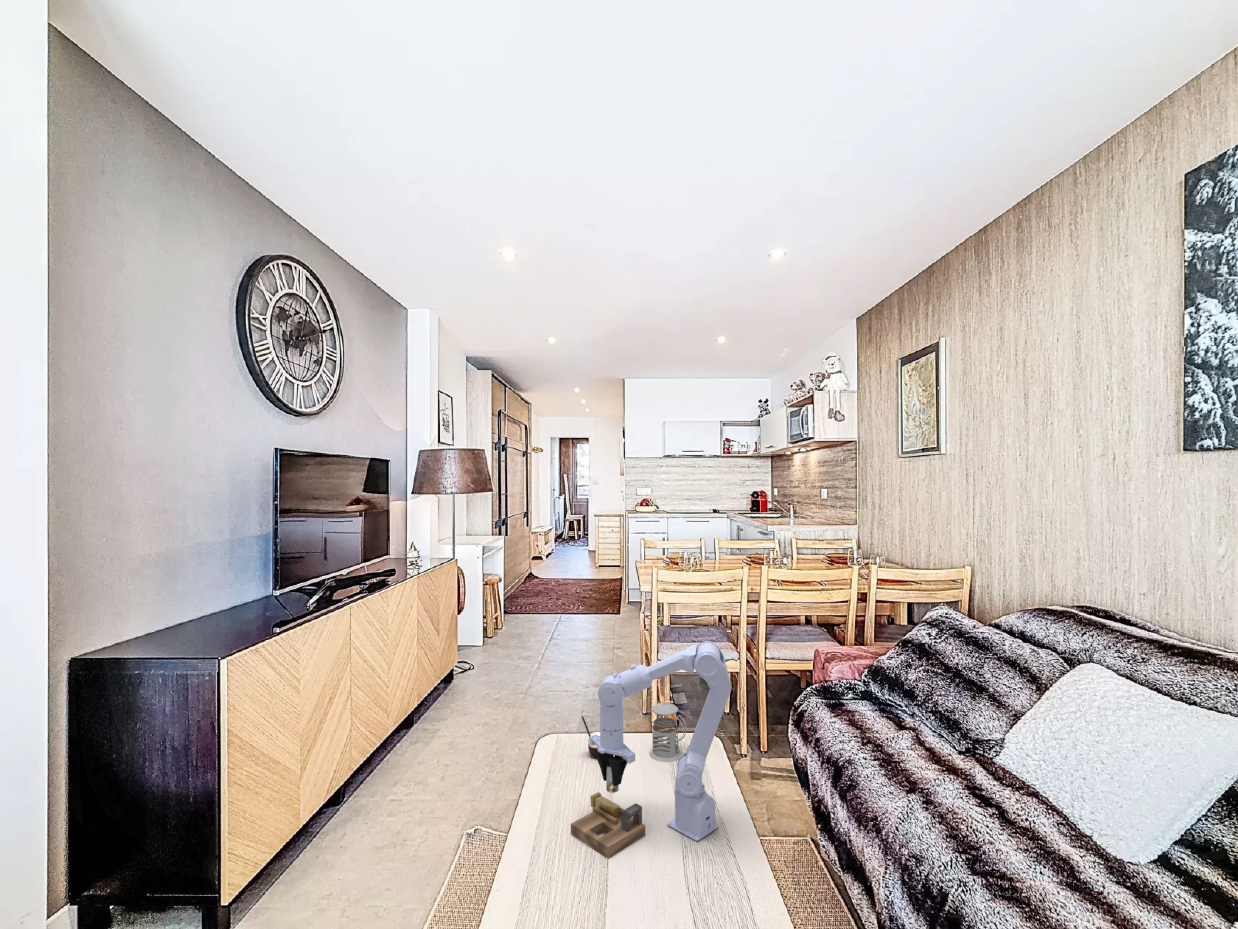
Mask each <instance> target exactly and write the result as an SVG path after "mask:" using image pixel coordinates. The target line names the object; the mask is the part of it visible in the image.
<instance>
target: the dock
mask: <svg viewBox="0 0 1238 929" xmlns="http://www.w3.org/2000/svg"><path fill="white" fill-rule="evenodd" d="M601 834H603V836H600V835H601ZM570 835H572V836H574V837H575V838H577V839H578V841H581V842H582V843H584V844H585V845H587V846H588V847H590V848H592V849H593V850H595V851H596V852H598V853H599V854H601V855H603V857H606V858H607V859H609V858H611V857H613V856H615V855H616V854H618V853H620V852H621V851H623V850H625V849H626V848H627V847H629V846H630V845H632V844H634V843H636V842H638V841H639V840H641V839H642V838H644V837H645V836H646V824H644V823H643V806H642V805H640V804H638V803H633V804H632V805H630V806H628V807H627V808H625V809H624V808H622V807H620V816H618V817H616V818H615V817H613V816H611V815H609V814H608V813H606V812H604V811H602V810H601V809H599V808H597V807H594V808H593V807H592V812H590V813H587V814H586V815H584V816H583V817H581V818H578V819H576V820H574V821H573V822H571V823H570Z"/></svg>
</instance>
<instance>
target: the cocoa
mask: <svg viewBox="0 0 1238 929" xmlns="http://www.w3.org/2000/svg"><path fill="white" fill-rule="evenodd" d="M581 719H582V722H583V725H584V727H585V729H586V732H587V735H588V739H587V743H588V744H587V748H588V751H589V754H590V756H591V757H592V758H595V759H596V757H595V756H594V752H595V751H597V750H598V747H597V746H596V745H590V737H591V736H593V735H598V736H600V731H594V732H592V733H590V731H589V727H588V725H587V722H586V719H585V718H584V716H581Z"/></svg>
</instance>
